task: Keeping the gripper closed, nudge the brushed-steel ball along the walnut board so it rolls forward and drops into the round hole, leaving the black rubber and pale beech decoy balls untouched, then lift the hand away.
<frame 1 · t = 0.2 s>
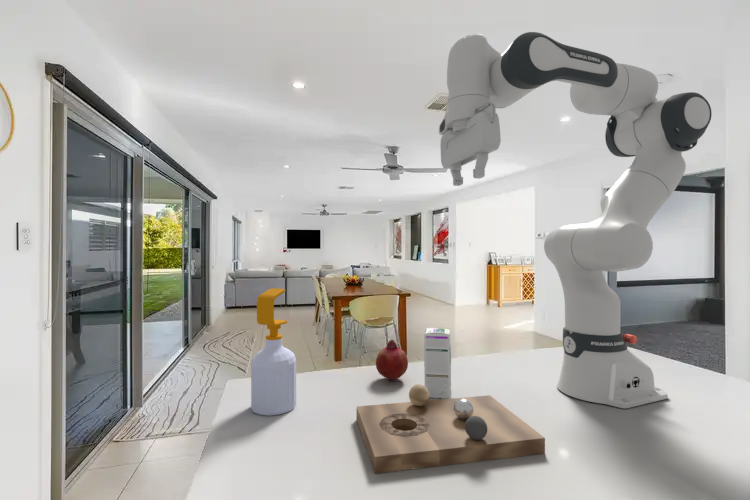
hand: (467, 181, 81), 47 cm above the kitchen island, fingers open, 8 cm apart
soap bottle: (274, 408, 79), on the kitchen island
black rubber ball: (476, 427, 61), point 4 cm above the kitchen island, touching board
fruit: (391, 380, 95), on the kitchen island
syrup box: (437, 394, 86), on the kitchen island
steel ball: (463, 409, 68), point 4 cm above the kitchen island, touching board
board: (442, 434, 67), on the kitchen island
beech ball: (419, 395, 74), point 4 cm above the kitchen island, touching board
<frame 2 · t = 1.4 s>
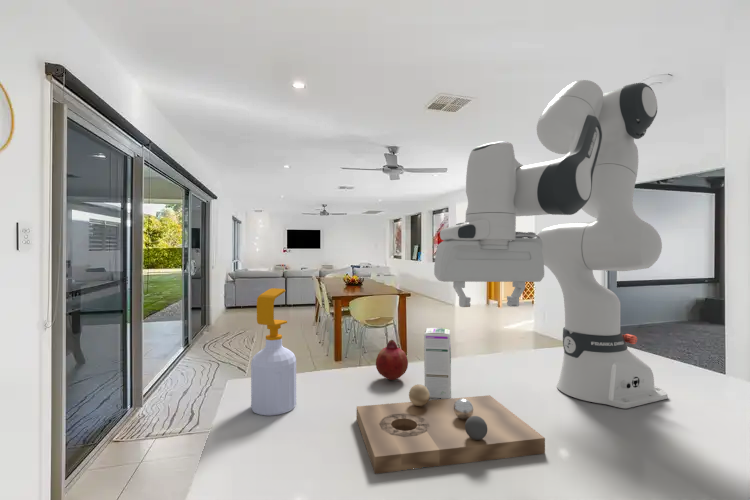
hand: (489, 306, 70), 22 cm above the kitchen island, fingers open, 8 cm apart
nothing on the kitchen island moved.
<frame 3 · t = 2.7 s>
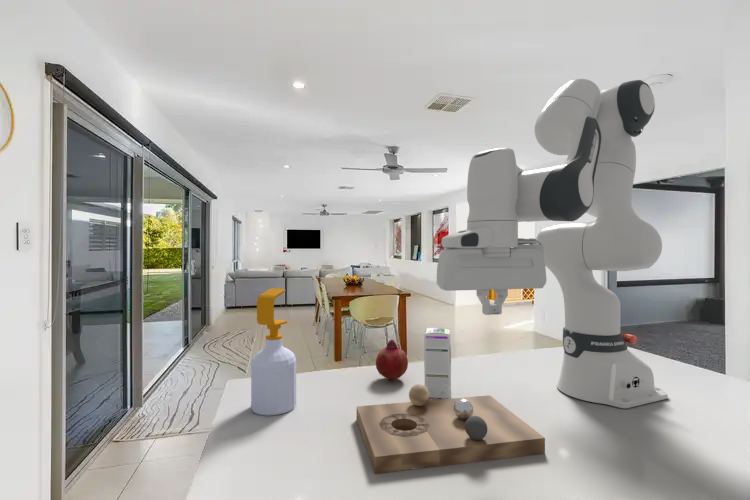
hand: (491, 314, 69), 21 cm above the kitchen island, fingers closed
nothing on the kitchen island moved.
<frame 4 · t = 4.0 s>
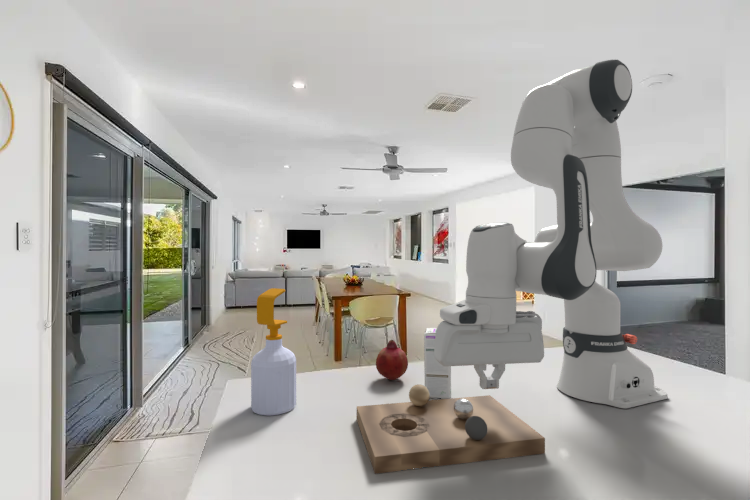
hand: (489, 387, 69), 8 cm above the kitchen island, fingers closed
nothing on the kitchen island moved.
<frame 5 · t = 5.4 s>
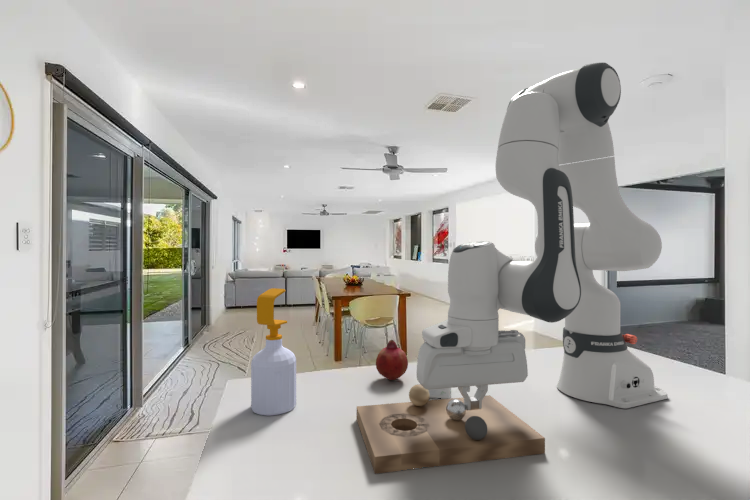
hand: (472, 408, 68), 4 cm above the kitchen island, fingers closed
steel ball: (456, 409, 68), point 4 cm above the kitchen island, tilted 46°, touching board, gripper
everything else where it was.
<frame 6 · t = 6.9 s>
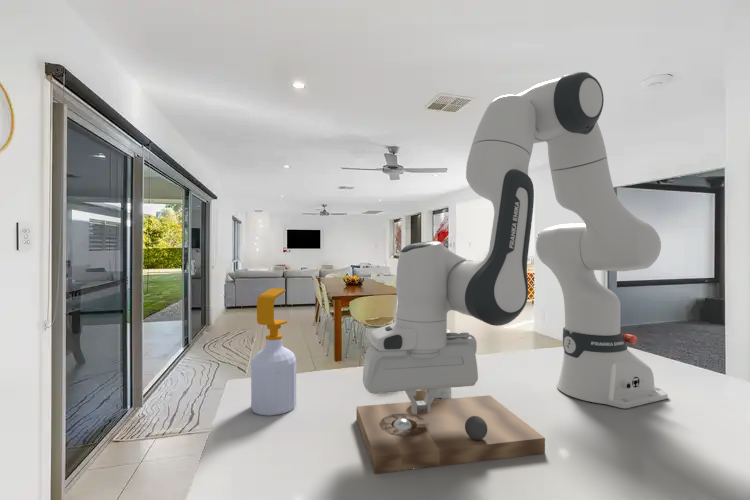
hand: (420, 413, 66), 4 cm above the kitchen island, fingers closed
steel ball: (402, 429, 66), point 2 cm above the kitchen island, tilted 81°
everything else where it was.
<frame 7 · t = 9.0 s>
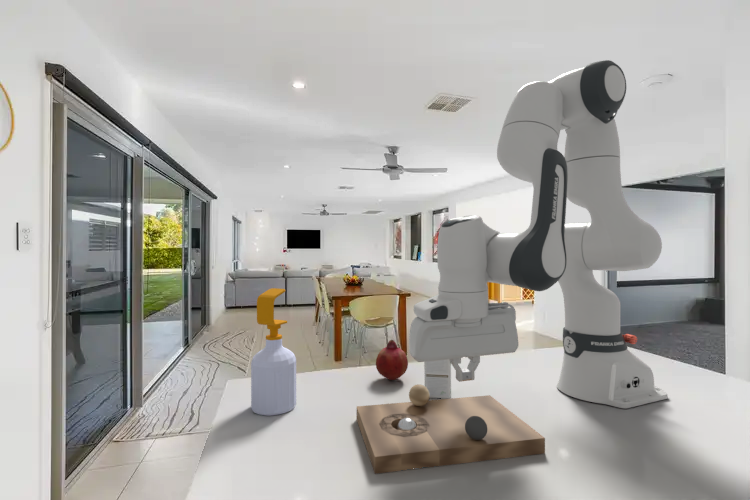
hand: (465, 379, 70), 9 cm above the kitchen island, fingers closed
steel ball: (407, 428, 66), point 2 cm above the kitchen island, tilted 54°
everything else where it was.
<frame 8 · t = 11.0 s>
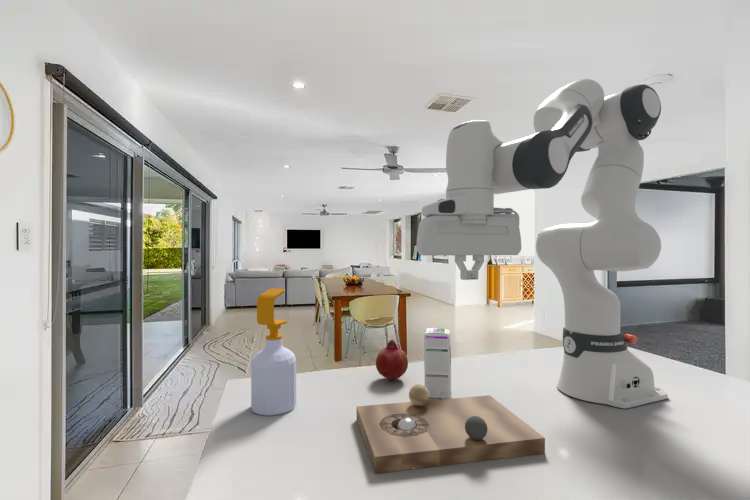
hand: (469, 279, 72), 27 cm above the kitchen island, fingers closed
nothing on the kitchen island moved.
at the end: steel ball 0.5 cm from the target spot in the board, point 1.7 cm above the board's base; black rubber ball moved 0.1 cm from its start; beech ball moved 0.1 cm from its start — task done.
